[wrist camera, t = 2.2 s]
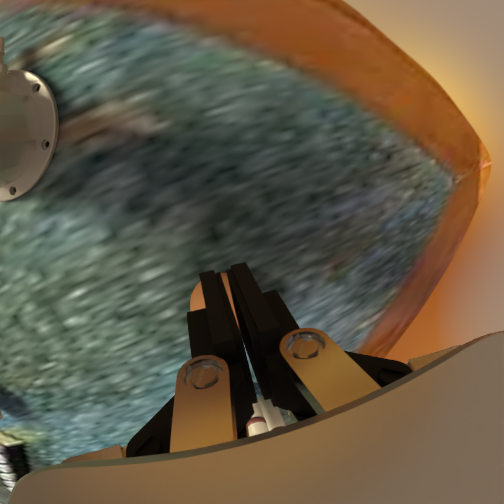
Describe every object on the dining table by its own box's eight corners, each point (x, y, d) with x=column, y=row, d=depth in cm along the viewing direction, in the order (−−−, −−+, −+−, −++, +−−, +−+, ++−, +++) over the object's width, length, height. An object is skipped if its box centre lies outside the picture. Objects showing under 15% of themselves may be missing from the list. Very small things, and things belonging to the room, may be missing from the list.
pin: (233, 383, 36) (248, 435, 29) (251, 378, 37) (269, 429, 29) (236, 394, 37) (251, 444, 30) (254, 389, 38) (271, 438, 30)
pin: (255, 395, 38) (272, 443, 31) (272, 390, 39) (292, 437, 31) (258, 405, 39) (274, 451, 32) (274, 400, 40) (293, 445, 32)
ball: (181, 270, 28) (184, 303, 23) (241, 255, 29) (256, 285, 24) (196, 318, 31) (202, 356, 26) (250, 305, 32) (265, 339, 27)
